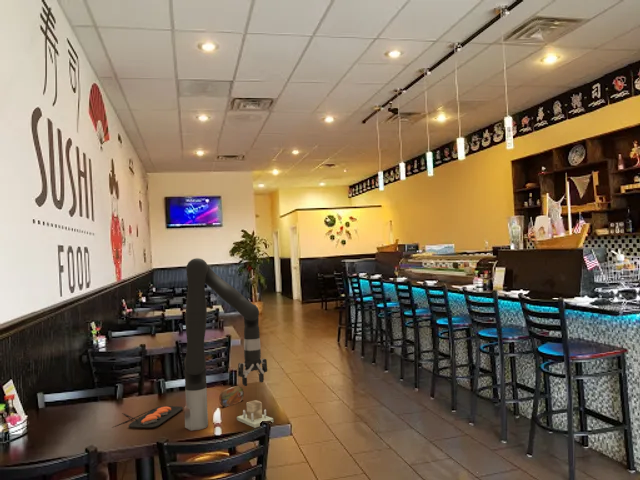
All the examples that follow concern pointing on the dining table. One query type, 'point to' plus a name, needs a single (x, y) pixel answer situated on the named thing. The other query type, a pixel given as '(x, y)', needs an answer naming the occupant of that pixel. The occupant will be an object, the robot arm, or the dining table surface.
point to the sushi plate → (153, 417)
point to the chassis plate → (251, 421)
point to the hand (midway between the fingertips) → (253, 383)
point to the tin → (231, 396)
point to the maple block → (254, 409)
